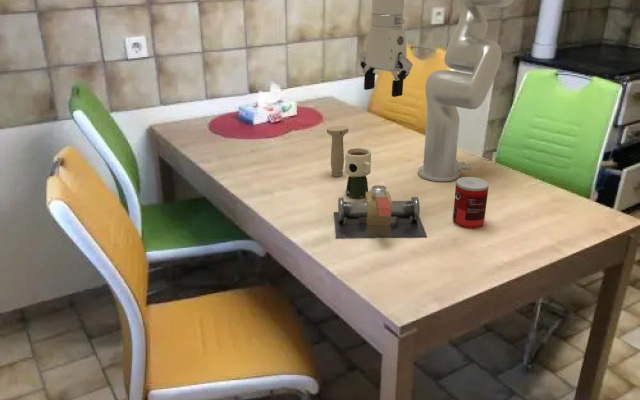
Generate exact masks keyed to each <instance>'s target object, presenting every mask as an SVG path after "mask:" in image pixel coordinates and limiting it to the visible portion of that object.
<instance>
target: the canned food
mask: <svg viewBox="0 0 640 400" xmlns="http://www.w3.org/2000/svg"><path fill="white" fill-rule="evenodd" d="M454 191H455V192H454V201H453V213H452V220H453V223H454V224H455V225H457V226H458V227H460V228H464V229H479V228H481V227H482V226H483V225H484V223H485V219H486V218H485V217H486V210H487V202H488V194H489V182H488V181H486V180H485V179H483V178H481V177H476V176H475V177H474V176H462V177H460V178H459V177H458V178H457V179H456V183H455V190H454Z"/></svg>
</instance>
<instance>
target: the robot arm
mask: <svg viewBox="0 0 640 400" xmlns="http://www.w3.org/2000/svg"><path fill="white" fill-rule="evenodd" d="M514 1H515V0H457V3H458V4H457V5H458V10H459V11H458V12H459V19H458V23H457V24H456V25H457V26H456V28H455V30H454V33H453V35H452V37H451V39H450V41H449V44H448V46H447V48H446V51H445V54H444V64H445V66H447V68H449V69H451V70H449V69H438V70H434V71H432V72H431V73H430V74H429V75H428V76H427V78H426V80H425V86H424V88H425V90H424V92H425V99H426V124H425V125H426V126H425V137H424V138H425V139H424V150H423V152H424V153H423V165H420V166H419V167H418V169H417V175H418V176H420V177H421V178H423V179H424V180H429V181H433V182H440V183H441V182H452V181H455V180H457V179H459V177H460V174H461V170H464V171H471V170H472V164H471V163H466V162H465V161H457V152H458V151H457V150H458V142H459V141H458V139H459V131H460V130H459V129H460V115H459V111H458V108H461V109H467V110H477V109H478V108H480V107H481V106H482V105H483V103H484V101H485V100H486V97H487V95H488V93H489V91H490V89H491V87H492V85H493V82H494V80H495V77H496V75H497V74H498V73H497V72H499V71H498V70H499V68H500V66H501V62H502V49H501V46H500V44H498V42H496V41H494V40H491V39H490V40H489V39H485V36H486V34H487V31H488V29H489V25H488V20H487V17H486V15H485V14H484V11H483V9H482V7H493V8H506V7H508V6H510V5H511V4H512V3H513V2H514ZM404 8H405V0H371V15H370V16H371V19H370V20H371V21H370V26H369V29H368V33H367V38H366V46H365V50H364V51H363V52H361V53H359V54H358V59H359V62H360V67H361V69H362V73H363V74H364V79H363V80H364V81H363V89H364V90H365V91H367V90H374V89H375V87H376V85H375V84H376V72H375V70H381V71H384V72H385V71H386V72H391V74H392V77H393V80H392V82H391V83H392V85H391V97H393V98H395V97H401V96H403V91H404V80H406V79H407V77H408V76H409V75H410V72H411V70H412V67H413V65H414V64H413V62H411V60H409V59H408V58H407V35H406V34H407V33H406V29H405V28H403V25H404V24H405V22H406V20H405V18H404V10H405V9H404Z"/></svg>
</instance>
